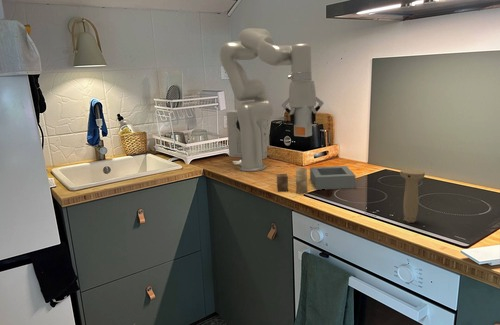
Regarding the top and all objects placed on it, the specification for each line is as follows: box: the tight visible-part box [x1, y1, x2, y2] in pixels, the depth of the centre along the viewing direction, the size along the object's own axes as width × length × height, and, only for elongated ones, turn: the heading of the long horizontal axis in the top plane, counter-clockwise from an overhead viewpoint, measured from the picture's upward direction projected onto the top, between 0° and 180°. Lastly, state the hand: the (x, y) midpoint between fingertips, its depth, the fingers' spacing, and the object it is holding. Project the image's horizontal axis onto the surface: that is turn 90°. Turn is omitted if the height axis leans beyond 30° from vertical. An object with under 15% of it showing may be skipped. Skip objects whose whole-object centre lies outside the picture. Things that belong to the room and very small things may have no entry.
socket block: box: [309, 165, 356, 191], centre depth 151 cm, size 15×15×5 cm
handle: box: [399, 168, 426, 223], centre depth 109 cm, size 5×6×15 cm
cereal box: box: [226, 109, 270, 160], centre depth 205 cm, size 22×8×25 cm, turn 60°
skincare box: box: [293, 106, 313, 138], centre depth 148 cm, size 6×4×12 cm
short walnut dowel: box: [276, 173, 289, 193], centre depth 145 cm, size 4×4×6 cm
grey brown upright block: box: [295, 167, 308, 195], centre depth 141 cm, size 4×4×9 cm
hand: (303, 123), depth 148 cm, fingers closed on skincare box, 7 cm apart
